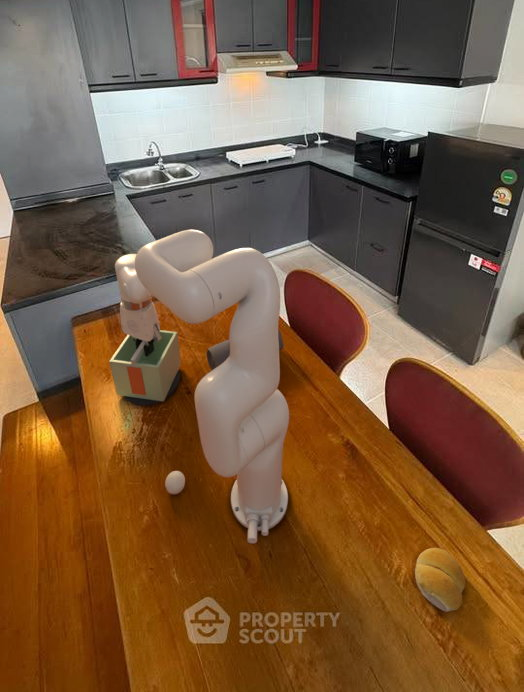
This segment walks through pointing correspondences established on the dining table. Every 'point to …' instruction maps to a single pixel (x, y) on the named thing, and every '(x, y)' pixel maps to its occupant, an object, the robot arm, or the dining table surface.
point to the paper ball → (175, 482)
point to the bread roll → (440, 579)
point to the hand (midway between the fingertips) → (145, 351)
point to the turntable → (151, 402)
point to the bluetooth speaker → (226, 352)
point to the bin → (146, 367)
